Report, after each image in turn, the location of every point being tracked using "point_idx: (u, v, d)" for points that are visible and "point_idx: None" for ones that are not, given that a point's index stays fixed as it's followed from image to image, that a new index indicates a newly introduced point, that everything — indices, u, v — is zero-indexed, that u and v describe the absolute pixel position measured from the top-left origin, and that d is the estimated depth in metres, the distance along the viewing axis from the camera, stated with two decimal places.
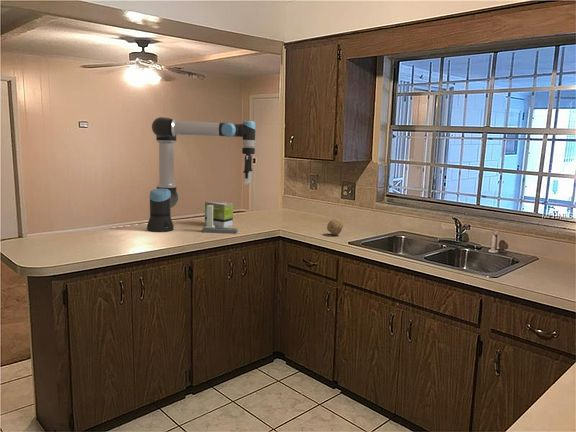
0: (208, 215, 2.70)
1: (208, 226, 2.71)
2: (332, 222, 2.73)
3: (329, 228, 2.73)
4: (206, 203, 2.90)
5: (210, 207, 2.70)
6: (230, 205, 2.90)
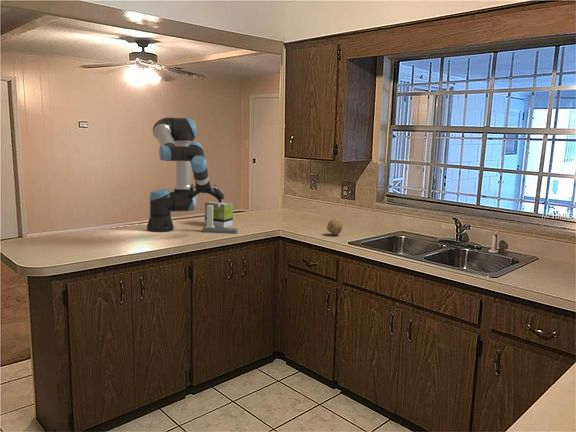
0: (208, 215, 2.70)
1: (208, 226, 2.71)
2: (332, 222, 2.73)
3: (329, 228, 2.73)
4: (206, 203, 2.90)
5: (210, 207, 2.70)
6: (230, 205, 2.90)
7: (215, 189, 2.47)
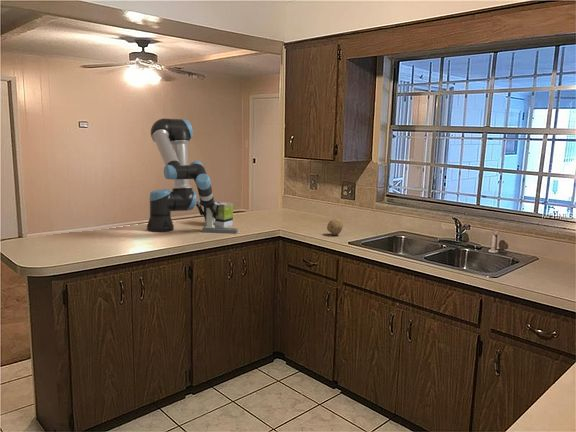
0: (208, 215, 2.70)
1: (208, 226, 2.71)
2: (332, 222, 2.73)
3: (329, 228, 2.73)
4: None
5: None
6: (230, 205, 2.90)
7: (218, 206, 2.63)
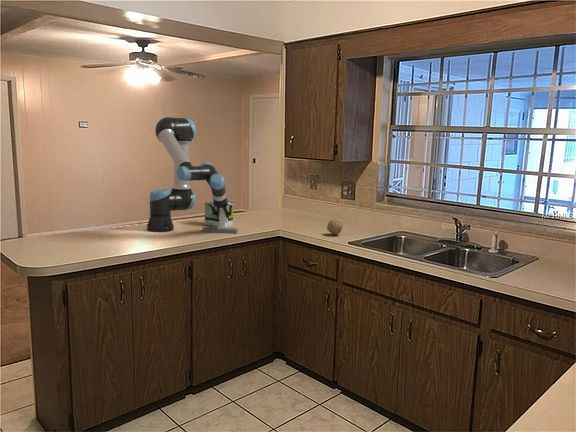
0: (221, 216, 2.70)
1: (221, 227, 2.71)
2: (332, 222, 2.73)
3: (329, 228, 2.73)
4: (206, 203, 2.90)
5: None
6: None
7: (231, 206, 2.62)
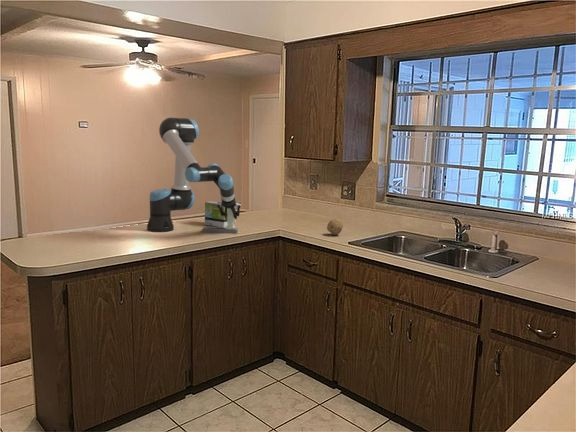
0: (229, 216, 2.70)
1: (229, 227, 2.71)
2: (332, 222, 2.73)
3: (329, 228, 2.73)
4: (206, 203, 2.90)
5: None
6: None
7: (239, 207, 2.63)
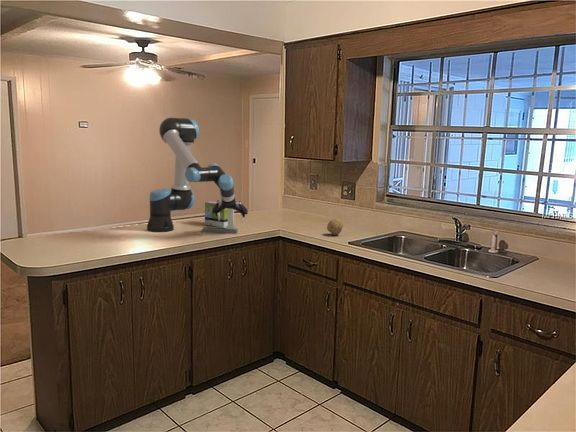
0: (229, 216, 2.70)
1: (229, 227, 2.71)
2: (332, 222, 2.73)
3: (329, 228, 2.73)
4: (206, 203, 2.90)
5: None
6: None
7: (240, 205, 2.61)
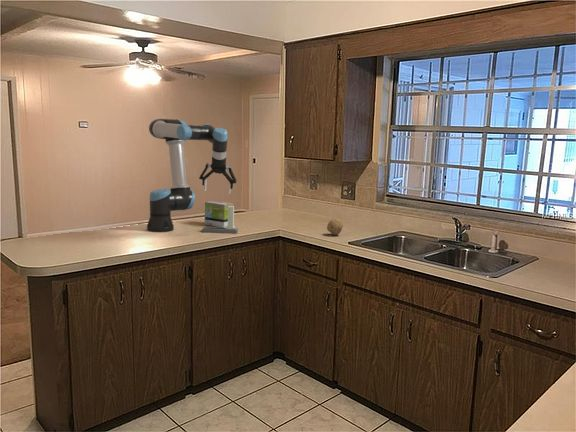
0: (229, 216, 2.70)
1: (229, 227, 2.71)
2: (332, 222, 2.73)
3: (329, 228, 2.73)
4: (206, 203, 2.90)
5: (231, 208, 2.70)
6: (230, 205, 2.90)
7: (230, 169, 2.52)
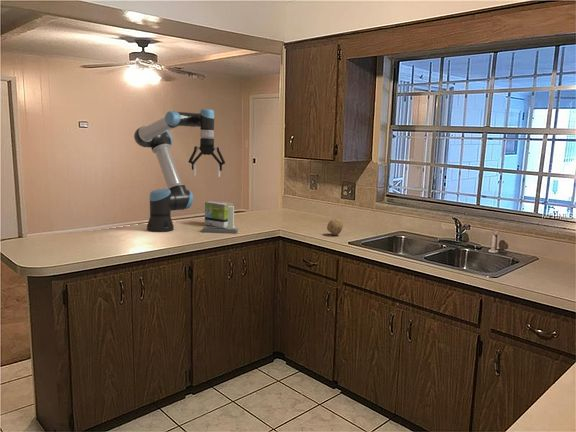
0: (229, 216, 2.70)
1: (229, 227, 2.71)
2: (332, 222, 2.73)
3: (329, 228, 2.73)
4: (206, 203, 2.90)
5: (231, 208, 2.70)
6: (230, 205, 2.90)
7: (218, 148, 2.59)
